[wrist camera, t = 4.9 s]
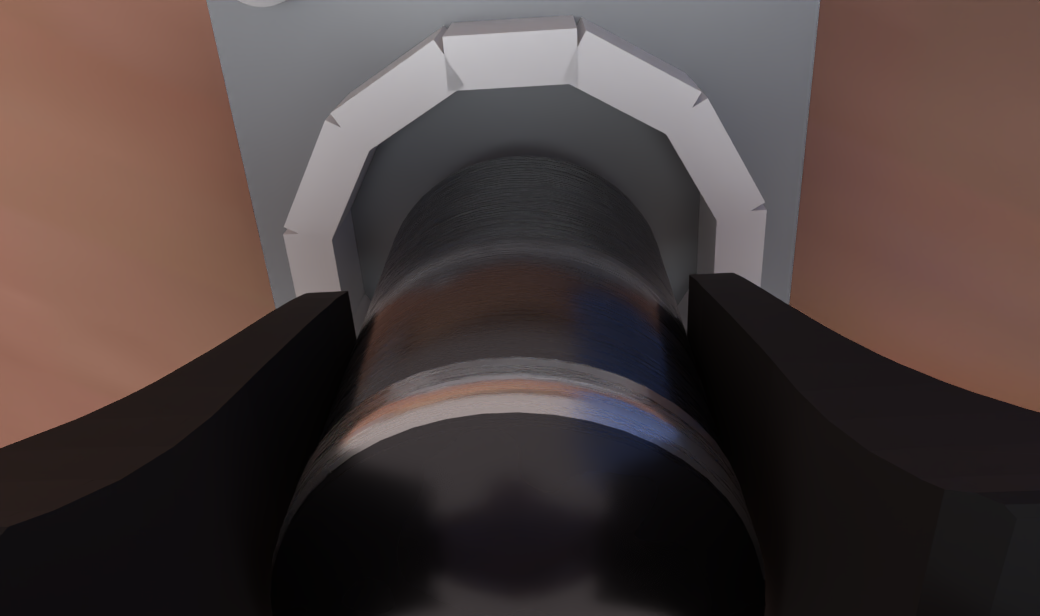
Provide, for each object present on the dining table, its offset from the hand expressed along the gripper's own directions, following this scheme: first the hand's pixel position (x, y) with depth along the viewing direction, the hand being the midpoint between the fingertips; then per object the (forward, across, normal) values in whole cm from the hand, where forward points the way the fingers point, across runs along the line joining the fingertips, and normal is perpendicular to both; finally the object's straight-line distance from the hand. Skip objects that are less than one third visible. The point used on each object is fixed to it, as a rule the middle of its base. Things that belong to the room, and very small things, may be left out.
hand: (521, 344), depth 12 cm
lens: (+2, 0, 0) cm, 3 cm away
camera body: (+6, 0, 0) cm, 6 cm away
